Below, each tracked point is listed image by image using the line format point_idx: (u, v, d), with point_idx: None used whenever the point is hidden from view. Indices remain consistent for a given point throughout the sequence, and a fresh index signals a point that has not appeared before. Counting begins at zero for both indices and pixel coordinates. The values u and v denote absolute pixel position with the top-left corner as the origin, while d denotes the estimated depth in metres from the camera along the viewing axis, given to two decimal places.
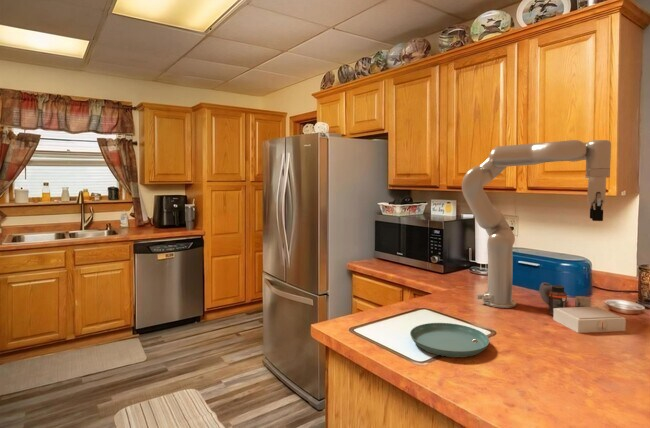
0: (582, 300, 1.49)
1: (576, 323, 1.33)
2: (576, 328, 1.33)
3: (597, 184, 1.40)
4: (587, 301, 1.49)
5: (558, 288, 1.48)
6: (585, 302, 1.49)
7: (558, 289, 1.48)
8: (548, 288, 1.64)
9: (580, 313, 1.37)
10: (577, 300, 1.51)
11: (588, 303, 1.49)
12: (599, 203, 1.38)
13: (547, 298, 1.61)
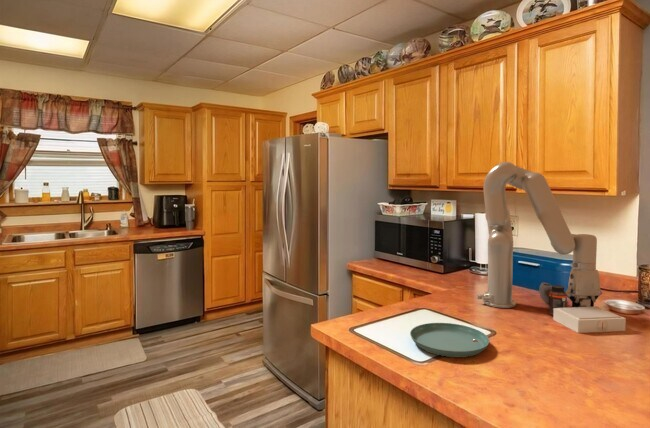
0: (582, 300, 1.49)
1: (576, 323, 1.33)
2: (576, 328, 1.33)
3: None
4: (587, 301, 1.49)
5: (558, 288, 1.48)
6: (585, 302, 1.49)
7: (558, 289, 1.48)
8: (548, 288, 1.64)
9: (580, 313, 1.37)
10: None
11: (588, 303, 1.49)
12: None
13: (547, 298, 1.61)
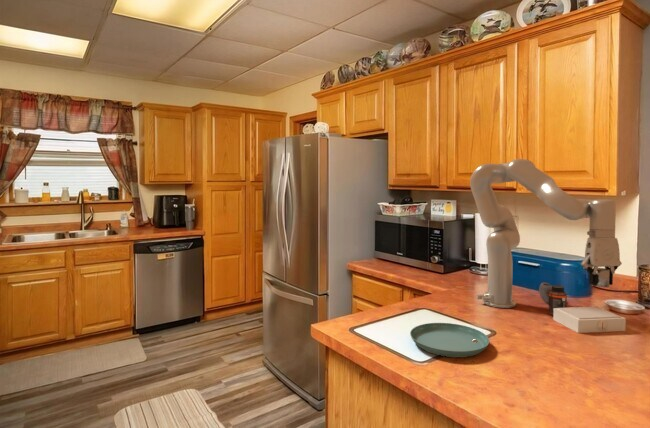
0: (600, 271, 1.37)
1: (576, 323, 1.33)
2: (576, 328, 1.33)
3: None
4: (606, 272, 1.36)
5: (558, 288, 1.48)
6: (603, 274, 1.36)
7: (558, 289, 1.48)
8: (548, 288, 1.64)
9: (580, 313, 1.37)
10: None
11: (607, 274, 1.36)
12: None
13: (547, 298, 1.61)
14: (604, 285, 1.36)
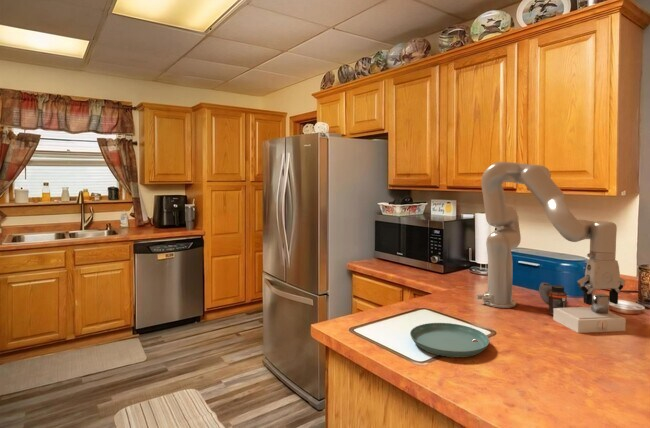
0: (600, 297, 1.36)
1: (576, 323, 1.33)
2: (576, 328, 1.33)
3: None
4: (605, 298, 1.36)
5: (558, 288, 1.48)
6: (602, 300, 1.36)
7: (558, 289, 1.48)
8: (548, 288, 1.64)
9: (580, 313, 1.37)
10: (594, 297, 1.38)
11: (606, 301, 1.36)
12: None
13: (547, 298, 1.61)
14: (603, 311, 1.36)
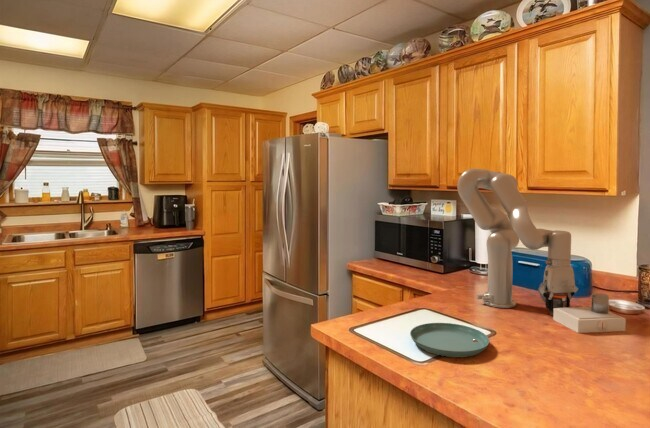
0: (599, 297, 1.37)
1: (576, 323, 1.33)
2: (576, 328, 1.33)
3: None
4: (605, 298, 1.36)
5: None
6: (602, 300, 1.36)
7: None
8: None
9: (580, 313, 1.37)
10: (593, 297, 1.38)
11: (606, 301, 1.36)
12: None
13: None
14: (603, 311, 1.36)
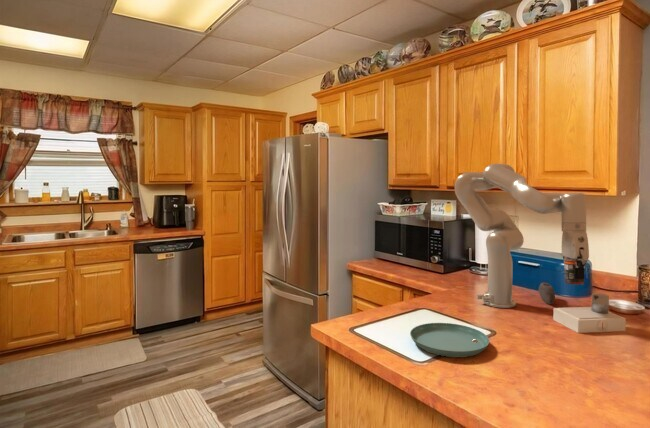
0: (599, 297, 1.37)
1: (576, 323, 1.33)
2: (576, 328, 1.33)
3: None
4: (605, 298, 1.36)
5: None
6: (602, 300, 1.36)
7: None
8: (548, 288, 1.64)
9: (580, 313, 1.37)
10: (594, 297, 1.38)
11: (606, 300, 1.36)
12: None
13: (547, 298, 1.61)
14: (602, 311, 1.36)
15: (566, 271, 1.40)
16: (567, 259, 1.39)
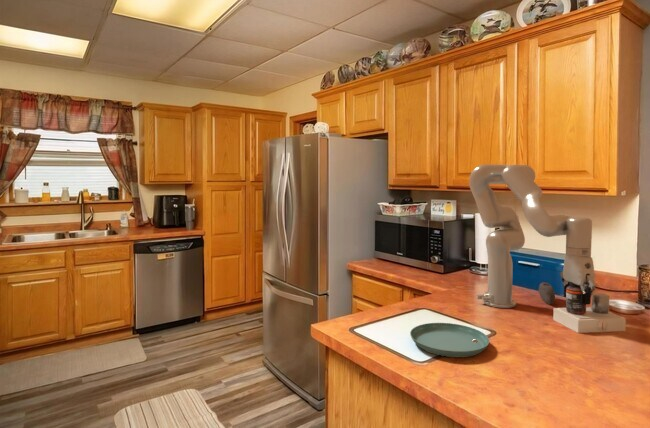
0: (599, 297, 1.37)
1: (576, 323, 1.33)
2: (576, 328, 1.33)
3: None
4: (605, 298, 1.36)
5: None
6: (602, 300, 1.36)
7: None
8: (548, 288, 1.64)
9: None
10: (594, 297, 1.38)
11: (606, 301, 1.36)
12: None
13: (547, 298, 1.61)
14: (602, 311, 1.36)
15: (569, 300, 1.37)
16: (570, 288, 1.37)
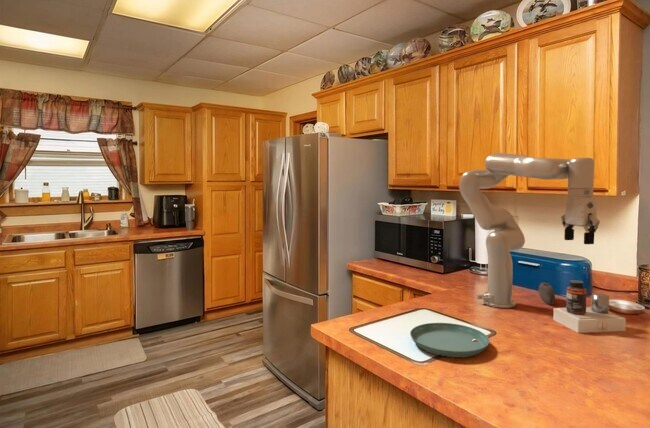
0: (598, 297, 1.37)
1: (576, 323, 1.33)
2: (576, 328, 1.33)
3: None
4: (604, 298, 1.36)
5: None
6: (601, 300, 1.36)
7: None
8: (548, 288, 1.64)
9: None
10: (593, 297, 1.38)
11: (605, 301, 1.36)
12: None
13: (547, 298, 1.61)
14: (602, 311, 1.36)
15: (569, 300, 1.37)
16: (571, 288, 1.37)
